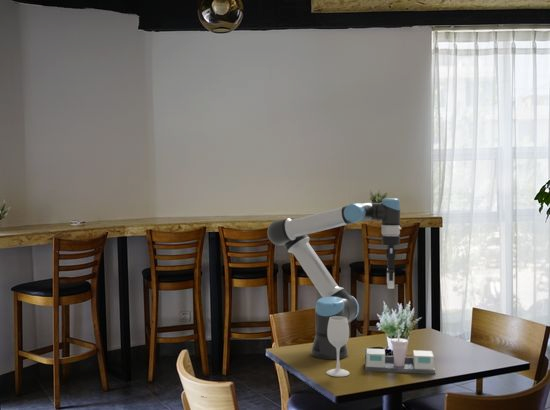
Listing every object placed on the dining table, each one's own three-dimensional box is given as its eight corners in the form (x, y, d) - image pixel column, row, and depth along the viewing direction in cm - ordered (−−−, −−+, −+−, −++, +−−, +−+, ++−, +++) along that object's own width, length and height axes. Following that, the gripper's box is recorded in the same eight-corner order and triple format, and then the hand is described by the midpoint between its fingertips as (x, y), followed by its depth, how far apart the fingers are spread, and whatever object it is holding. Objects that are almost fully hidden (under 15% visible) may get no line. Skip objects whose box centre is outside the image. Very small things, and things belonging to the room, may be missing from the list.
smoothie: (387, 364, 245) (387, 328, 244) (397, 361, 249) (397, 326, 249) (401, 368, 240) (401, 331, 240) (411, 365, 245) (411, 328, 244)
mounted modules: (366, 366, 242) (366, 353, 242) (366, 360, 250) (366, 348, 250) (433, 369, 238) (433, 356, 238) (431, 363, 246) (431, 351, 246)
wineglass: (353, 375, 236) (353, 319, 235) (331, 377, 233) (331, 320, 233) (344, 369, 244) (344, 315, 243) (323, 371, 241) (323, 316, 241)
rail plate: (365, 370, 242) (365, 361, 242) (365, 363, 252) (365, 354, 252) (435, 374, 238) (435, 364, 238) (432, 366, 248) (432, 357, 248)
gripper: (401, 237, 252) (400, 291, 252) (398, 233, 276) (398, 281, 277) (382, 237, 253) (381, 290, 253) (381, 233, 278) (381, 281, 278)
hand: (390, 286), depth 265 cm, fingers open, 13 cm apart
